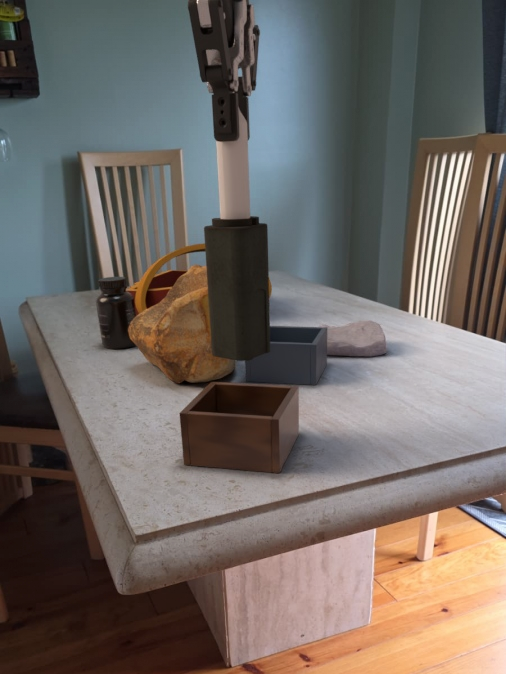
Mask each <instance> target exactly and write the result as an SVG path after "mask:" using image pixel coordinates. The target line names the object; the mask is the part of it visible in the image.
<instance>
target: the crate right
mask: <svg viewBox="0 0 506 674" xmlns="http://www.w3.org/2000/svg"><path fill="white" fill-rule="evenodd" d="M327 329H328V328H327V327H323V328H322V327H318V326H293V325H291V326H290V325H270V352H269V353H265V354H262V355H260V356H257V357H255V358H253V359H252V360H247V361H244V373H245V374H244V375H245V382H246V383H247V382H250V383H266V384H287V385H288V384H289V385H306V386H307V385H309V386H311V385H312V386H317V384H318V383H319V381H320V378H321V376H322V374H323V372H324V371H325V369H326V367H327V364H328V355H327Z"/></svg>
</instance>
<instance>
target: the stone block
mask: <svg viewBox="0 0 506 674" xmlns="http://www.w3.org/2000/svg"><path fill="white" fill-rule="evenodd" d="M317 327H322V328H323V327H327V328H328V329H327V356H343V357H377V356H382V355H384V354H386V353H387V350H388V349H387V348H388V347H387V346H388V345H387V340H386V335H385V332H384V330H383V328H382V326H381V324H380V323H378V322H377V321H376V322H375V321H372V320H361V321H360V320H359V321H356V322H350V323H347V324H345V325H341V326H335V325H334V326H330V325H327V324H320V325H318V326H317Z"/></svg>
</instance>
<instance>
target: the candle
mask: <svg viewBox="0 0 506 674" xmlns="http://www.w3.org/2000/svg"><path fill="white" fill-rule="evenodd" d="M233 93H234V92H233ZM238 109H239V106H238ZM239 134H240V136H239V139H238V140H237V141H227V142H219V141H216V140H215V142H216V160H217V176H218V177H217V180H218V199H219V200H218V201H219V217H213V218H211V225H206V226H204V227H203V234H204V235H203V236H204V243H205V262H206V263H205V266H206V268H207V284H208V299H209V315H210V331H211V346H212V355H213V356H215V357H220V358H226V359H231V360H236V362H238V361H239V362H245V361H247V360H252V359H253V358H255V357H257V356H260V355H262V354H265V353H269V352H270V326H271V322H270V321H271V318H270V317H271V316H270V315H271V314H270V313H271V312H270V298H269V279H270V275H269V274H270V273H269V270H270V269H269V234H268V233H269V232H268V224H267V223H263V222H260V216H254V215H251V195H250V193H251V192H250V166H249V163H250V162H249V144H248V143H249V140H248V133H247V121H246V120H245V118H244V116H243V115H242V113H241V112H240V110H239Z"/></svg>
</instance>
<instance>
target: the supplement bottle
mask: <svg viewBox="0 0 506 674" xmlns="http://www.w3.org/2000/svg"><path fill="white" fill-rule="evenodd" d="M97 281H98V291H100V294H98V296H96V299H95V308H96V315H97V320H98V326H99V327H98V328H99V333H100V339H101V344H102V346H103V347H104V348H106V349H109V350H121V349H128V348H129V349H130V348H133V347H135V346H136V345H135V343H134V342H133V341H132V340H131V339H130V336H129V332H128V328H129V325H130V323H131V321H132V320H133V319H134V318H135V317H136V310H135V302H134V297H133V296H132V294H130V293H129V292H127V291H126V290H127V289H128V285H127V279H126V277H125V276H108V277H103V278H99V279H98V280H97Z"/></svg>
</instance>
